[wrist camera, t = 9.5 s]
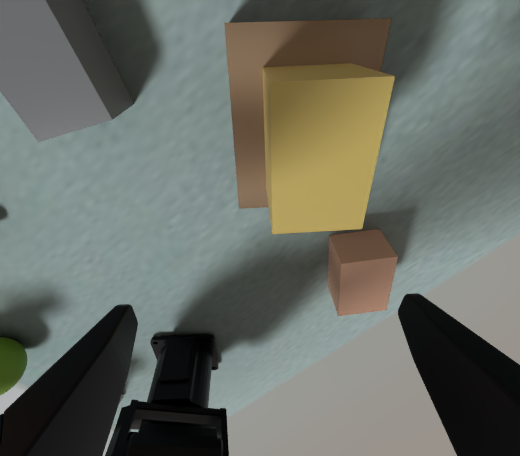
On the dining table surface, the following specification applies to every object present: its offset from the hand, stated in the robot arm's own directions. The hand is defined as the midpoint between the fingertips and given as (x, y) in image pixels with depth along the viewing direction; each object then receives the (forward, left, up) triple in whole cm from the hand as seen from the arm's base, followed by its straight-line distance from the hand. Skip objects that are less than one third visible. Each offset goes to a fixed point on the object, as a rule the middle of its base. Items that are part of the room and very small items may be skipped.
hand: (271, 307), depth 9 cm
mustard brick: (+3, -2, -8) cm, 9 cm away
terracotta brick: (-9, -8, -12) cm, 17 cm away
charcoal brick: (+6, +10, -12) cm, 17 cm away
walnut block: (+3, -2, -12) cm, 13 cm away
